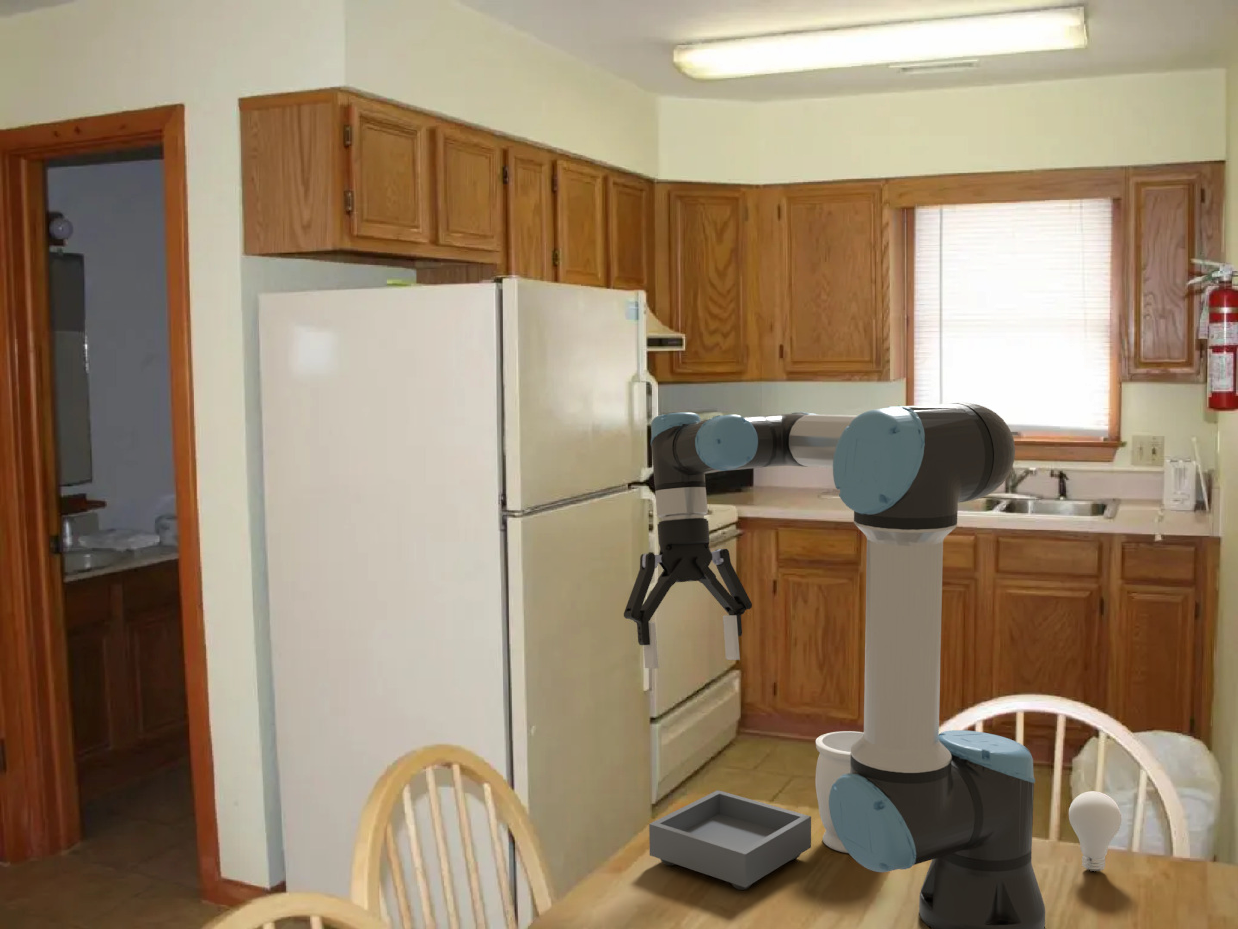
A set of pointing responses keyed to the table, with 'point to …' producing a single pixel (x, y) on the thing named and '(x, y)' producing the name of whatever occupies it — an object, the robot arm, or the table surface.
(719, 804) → the footed square tray
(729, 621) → the robot arm
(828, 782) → the jar
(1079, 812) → the light bulb
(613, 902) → the table surface
